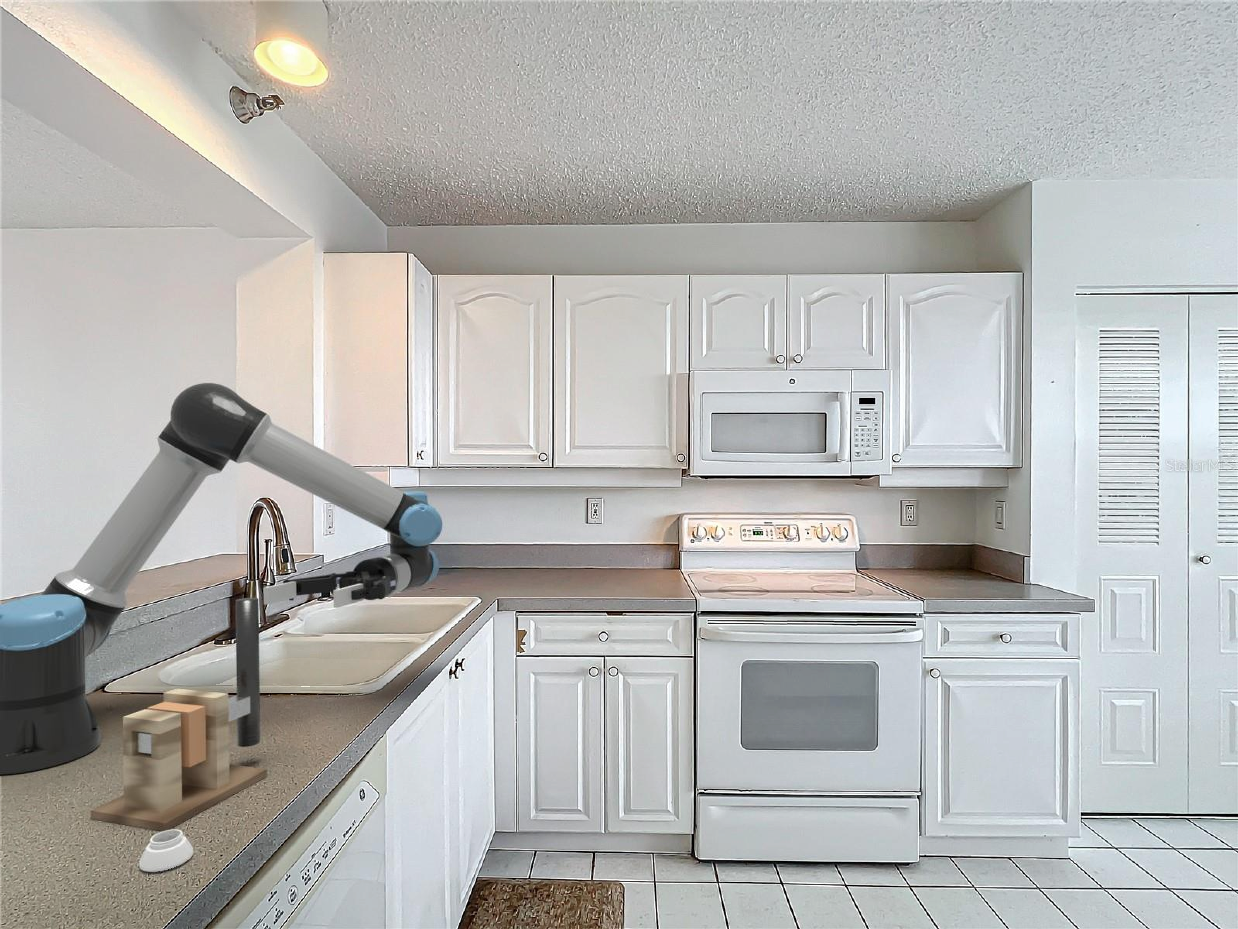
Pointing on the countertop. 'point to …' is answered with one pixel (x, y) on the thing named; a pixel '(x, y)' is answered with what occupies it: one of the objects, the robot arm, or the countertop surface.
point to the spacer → (189, 730)
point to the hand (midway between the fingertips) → (299, 597)
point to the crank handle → (240, 678)
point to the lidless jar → (166, 851)
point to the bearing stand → (175, 767)
